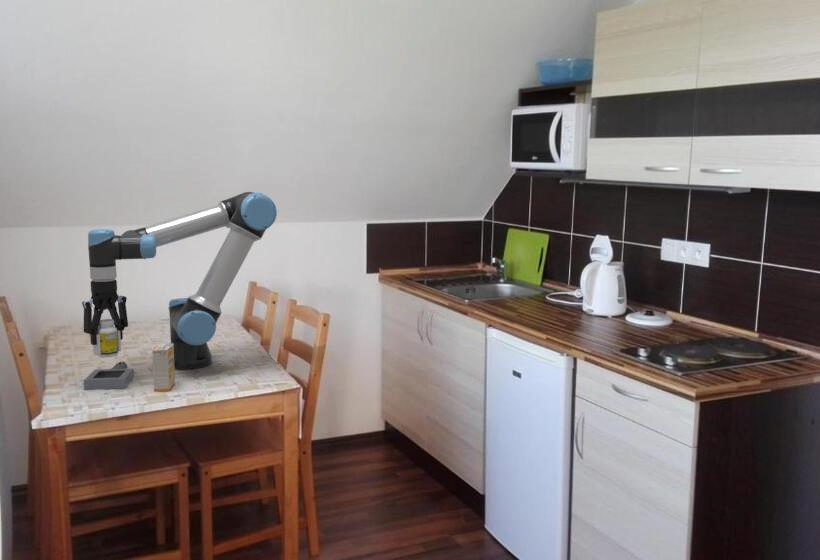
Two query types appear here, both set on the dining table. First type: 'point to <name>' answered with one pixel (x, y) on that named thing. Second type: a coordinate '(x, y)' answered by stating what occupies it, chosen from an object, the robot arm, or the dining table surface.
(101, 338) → the pill bottle
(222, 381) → the dining table surface
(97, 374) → the low gray tray
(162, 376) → the supplement box
